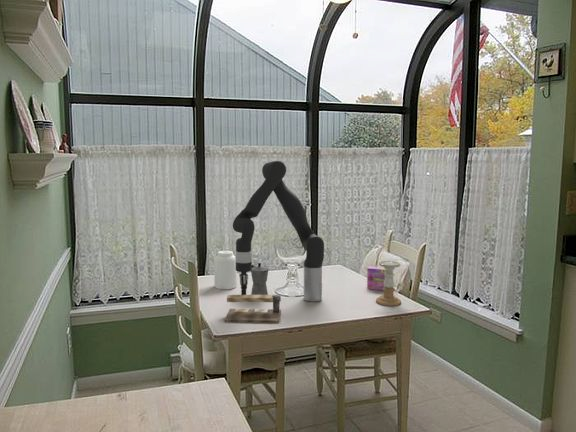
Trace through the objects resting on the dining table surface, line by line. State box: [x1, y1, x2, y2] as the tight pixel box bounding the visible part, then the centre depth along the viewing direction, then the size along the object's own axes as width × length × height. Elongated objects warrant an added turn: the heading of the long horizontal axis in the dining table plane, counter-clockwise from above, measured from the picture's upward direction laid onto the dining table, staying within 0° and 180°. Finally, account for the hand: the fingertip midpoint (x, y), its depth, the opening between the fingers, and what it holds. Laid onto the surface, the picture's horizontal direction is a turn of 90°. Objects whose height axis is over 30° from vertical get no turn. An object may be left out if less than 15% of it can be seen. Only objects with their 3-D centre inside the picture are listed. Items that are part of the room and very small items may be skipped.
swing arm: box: [226, 294, 282, 303], centre depth 224 cm, size 24×5×2 cm, turn 91°
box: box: [366, 265, 386, 291], centre depth 268 cm, size 10×6×12 cm, turn 68°
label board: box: [224, 301, 282, 324], centre depth 220 cm, size 24×15×6 cm, turn 88°
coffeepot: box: [250, 262, 269, 295], centre depth 251 cm, size 15×9×18 cm, turn 33°
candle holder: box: [375, 260, 402, 307], centre depth 242 cm, size 12×12×20 cm
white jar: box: [213, 249, 238, 290], centre depth 268 cm, size 12×12×20 cm
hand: (243, 296), depth 228 cm, fingers closed
